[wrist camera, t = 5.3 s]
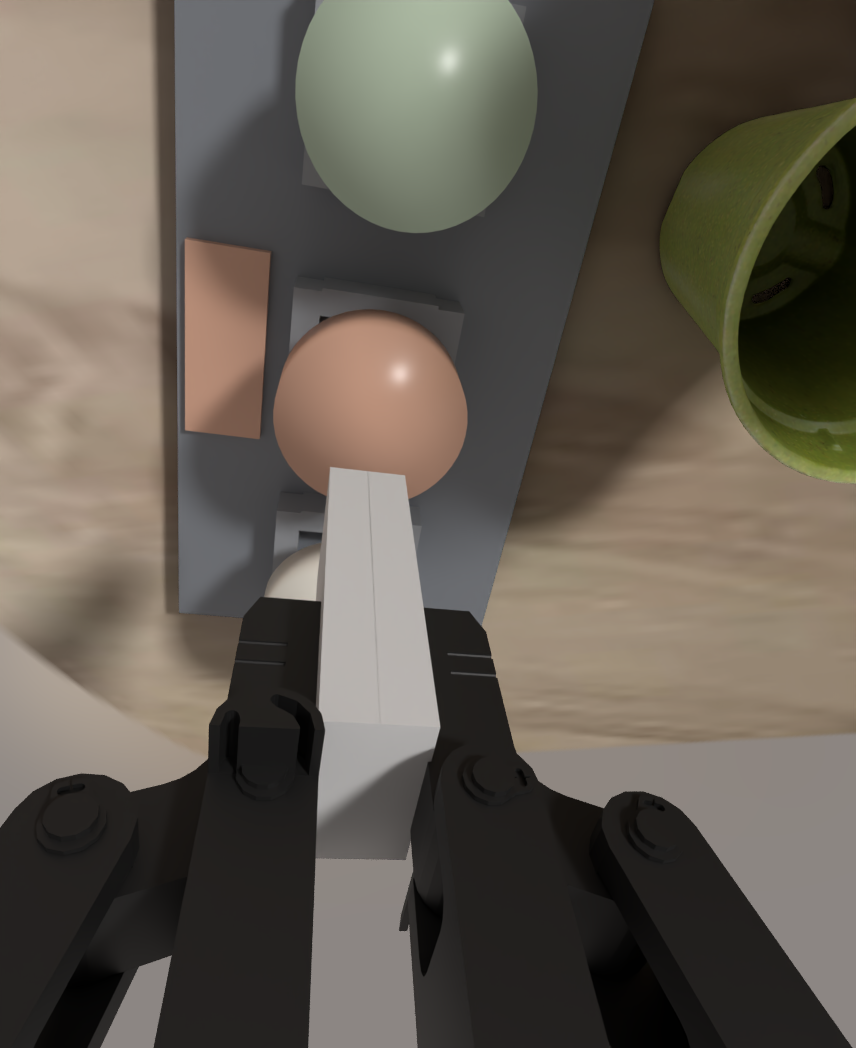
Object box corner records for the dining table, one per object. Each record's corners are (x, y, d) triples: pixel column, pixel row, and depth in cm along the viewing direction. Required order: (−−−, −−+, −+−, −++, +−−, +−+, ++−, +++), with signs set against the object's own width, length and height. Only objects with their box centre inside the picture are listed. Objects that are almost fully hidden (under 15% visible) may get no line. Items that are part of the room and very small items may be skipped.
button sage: (314, -56, 16) (306, -79, 14) (535, -4, 17) (566, -17, 14) (296, 193, 19) (286, 212, 16) (488, 227, 20) (506, 249, 17)
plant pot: (867, -32, 19) (1174, -96, 12) (926, 272, 24) (1174, 359, 17) (559, 169, 21) (662, 218, 14) (668, 413, 26) (789, 546, 19)
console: (182, -119, 17) (160, -143, 15) (644, -8, 19) (676, -17, 17) (184, 596, 29) (171, 634, 27) (475, 621, 31) (482, 658, 29)
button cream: (273, 509, 24) (263, 561, 21) (426, 526, 25) (433, 578, 22) (264, 629, 26) (254, 687, 24) (402, 640, 27) (407, 697, 25)
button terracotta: (290, 282, 20) (279, 312, 17) (470, 310, 21) (485, 343, 18) (277, 448, 23) (267, 495, 20) (438, 467, 23) (448, 515, 21)
